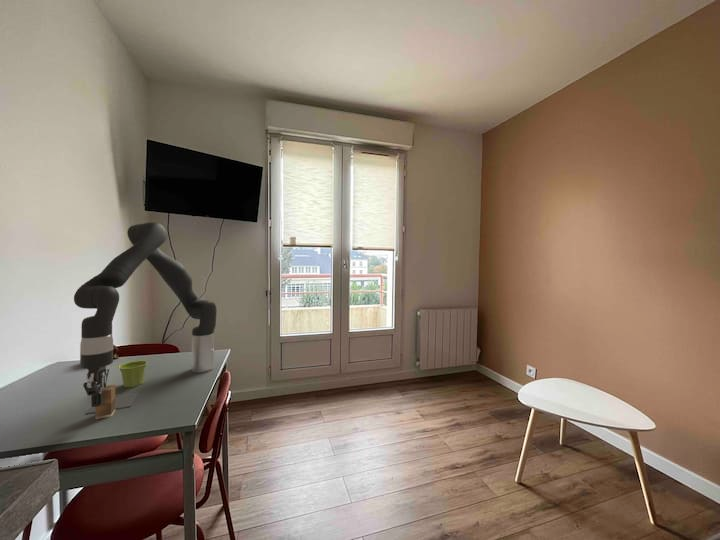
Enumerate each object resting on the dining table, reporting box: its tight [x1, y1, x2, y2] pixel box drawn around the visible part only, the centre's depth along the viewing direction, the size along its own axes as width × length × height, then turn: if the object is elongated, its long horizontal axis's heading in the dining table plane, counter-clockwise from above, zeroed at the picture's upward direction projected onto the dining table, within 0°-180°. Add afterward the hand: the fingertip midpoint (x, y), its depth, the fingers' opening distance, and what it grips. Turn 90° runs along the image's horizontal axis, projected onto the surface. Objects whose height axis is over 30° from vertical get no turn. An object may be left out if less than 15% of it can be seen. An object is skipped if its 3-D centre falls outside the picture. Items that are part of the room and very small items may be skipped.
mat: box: [85, 391, 140, 415], centre depth 103 cm, size 12×12×1 cm
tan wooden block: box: [95, 384, 116, 420], centre depth 95 cm, size 4×4×9 cm
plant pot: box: [118, 360, 148, 388], centre depth 118 cm, size 9×9×9 cm
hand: (97, 405), depth 89 cm, fingers closed
